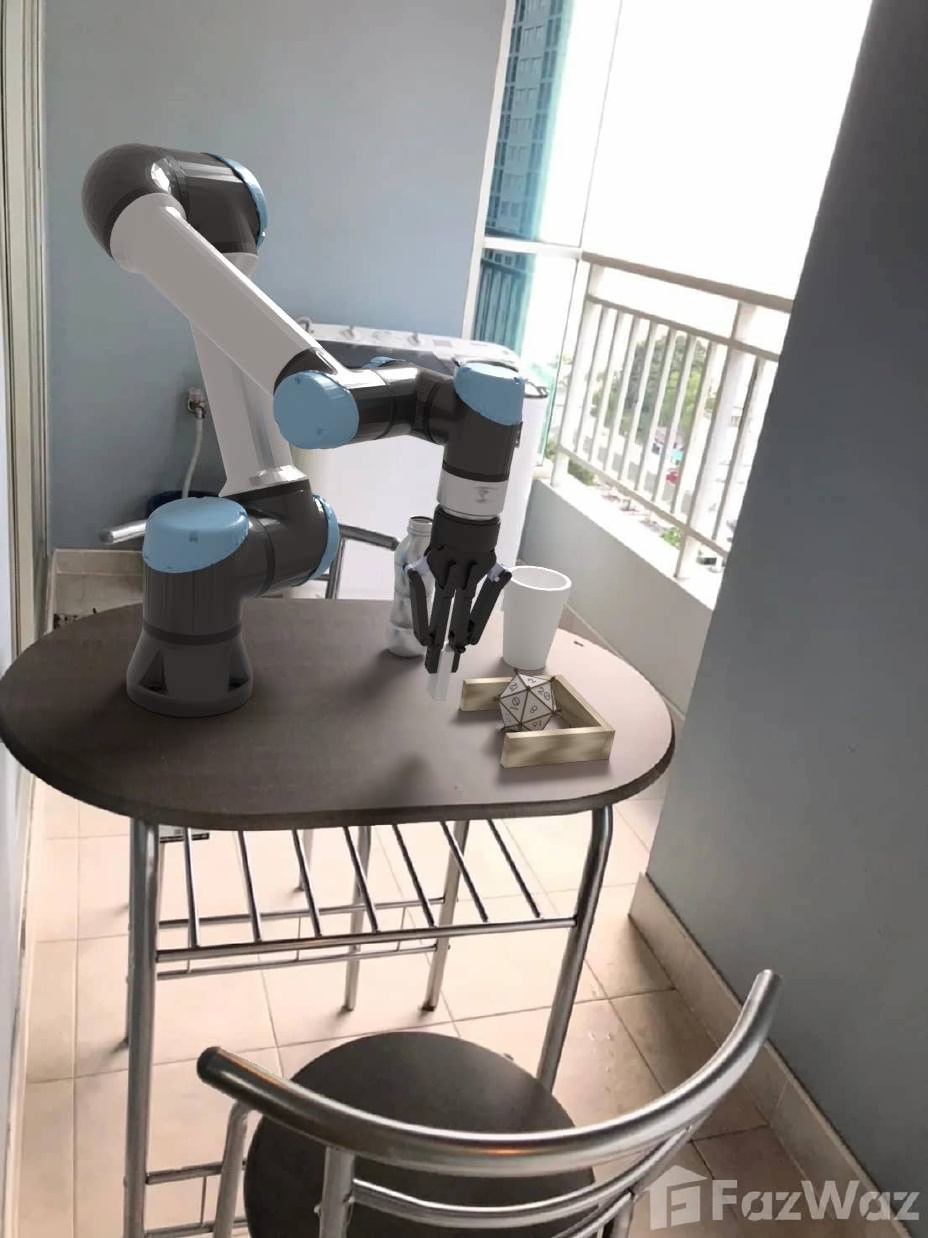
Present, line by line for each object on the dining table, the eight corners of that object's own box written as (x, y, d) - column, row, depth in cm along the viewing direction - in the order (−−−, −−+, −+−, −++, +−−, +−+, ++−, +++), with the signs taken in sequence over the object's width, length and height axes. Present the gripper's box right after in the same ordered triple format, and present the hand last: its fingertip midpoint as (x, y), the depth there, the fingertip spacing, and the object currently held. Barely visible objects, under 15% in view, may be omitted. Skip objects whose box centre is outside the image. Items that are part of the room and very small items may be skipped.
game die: (529, 753, 130) (583, 698, 129) (521, 762, 121) (579, 704, 120) (480, 704, 131) (533, 649, 130) (468, 710, 123) (526, 651, 121)
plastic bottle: (437, 653, 145) (455, 521, 138) (410, 667, 140) (428, 530, 132) (401, 638, 148) (417, 508, 141) (373, 651, 143) (388, 517, 135)
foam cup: (551, 680, 142) (567, 595, 137) (487, 666, 144) (501, 582, 139) (558, 654, 151) (574, 573, 146) (498, 641, 152) (511, 561, 147)
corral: (504, 767, 118) (509, 738, 117) (459, 706, 131) (463, 679, 130) (609, 758, 124) (615, 730, 122) (556, 701, 136) (561, 674, 135)
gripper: (424, 518, 106) (393, 713, 115) (535, 522, 111) (497, 708, 120) (403, 495, 112) (375, 681, 121) (508, 500, 117) (474, 678, 126)
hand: (436, 695), depth 121 cm, fingers closed
